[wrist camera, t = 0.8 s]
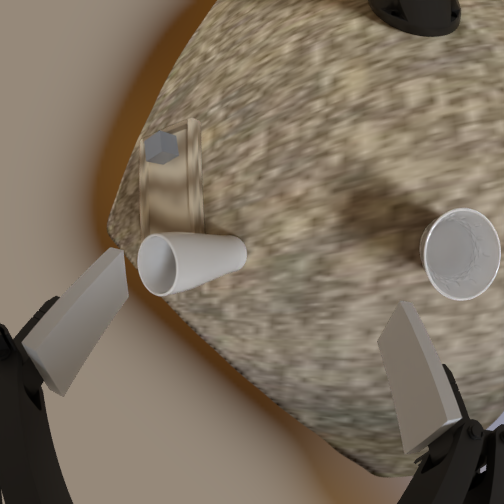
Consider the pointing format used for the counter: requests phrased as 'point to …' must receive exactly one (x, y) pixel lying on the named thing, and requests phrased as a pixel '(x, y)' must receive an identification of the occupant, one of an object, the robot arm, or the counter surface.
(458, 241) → the white cup
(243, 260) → the drinking glass
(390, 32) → the counter surface
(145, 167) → the tray
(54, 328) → the robot arm
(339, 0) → the counter surface
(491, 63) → the counter surface
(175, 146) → the cube
